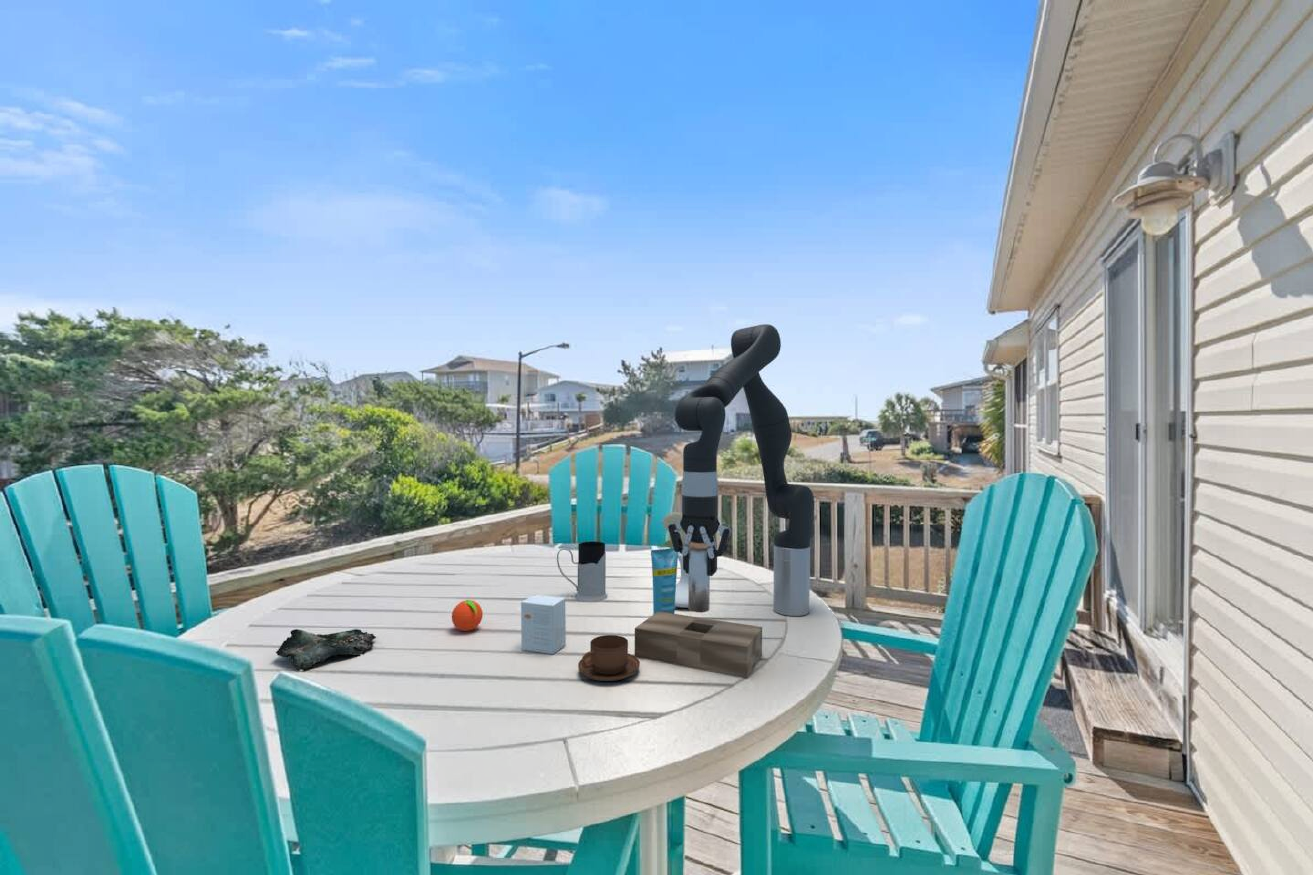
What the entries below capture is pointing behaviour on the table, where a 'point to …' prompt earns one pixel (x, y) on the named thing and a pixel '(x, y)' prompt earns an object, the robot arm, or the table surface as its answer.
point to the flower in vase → (683, 584)
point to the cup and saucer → (608, 659)
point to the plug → (698, 577)
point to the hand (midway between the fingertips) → (699, 573)
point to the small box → (543, 624)
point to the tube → (664, 579)
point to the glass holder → (590, 571)
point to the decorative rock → (323, 646)
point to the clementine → (467, 615)
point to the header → (699, 643)
